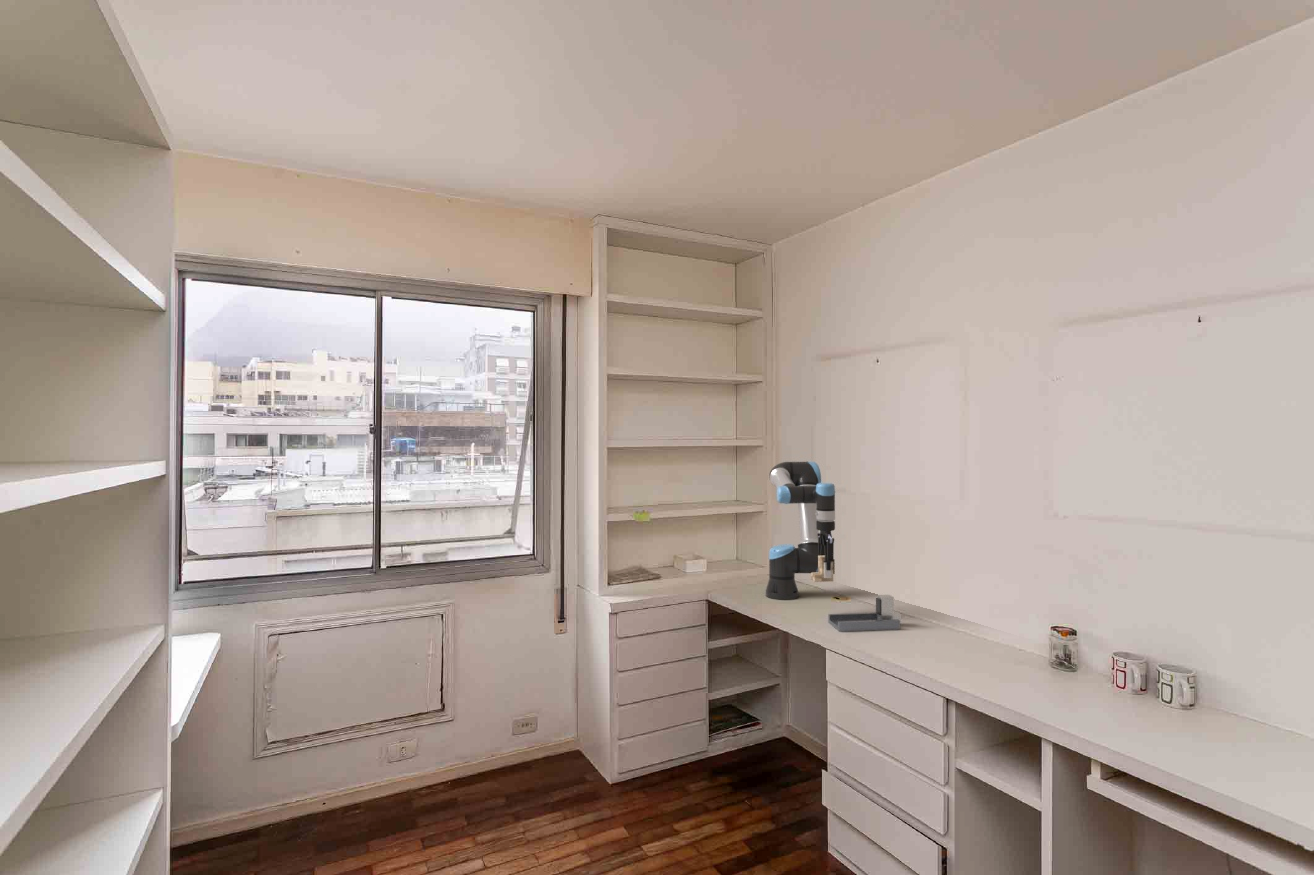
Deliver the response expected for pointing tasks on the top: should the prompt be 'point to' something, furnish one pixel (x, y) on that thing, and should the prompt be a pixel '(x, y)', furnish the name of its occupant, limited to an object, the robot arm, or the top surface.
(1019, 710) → the top surface
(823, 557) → the wooden stepped block
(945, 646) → the top surface
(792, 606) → the top surface
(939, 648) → the top surface
